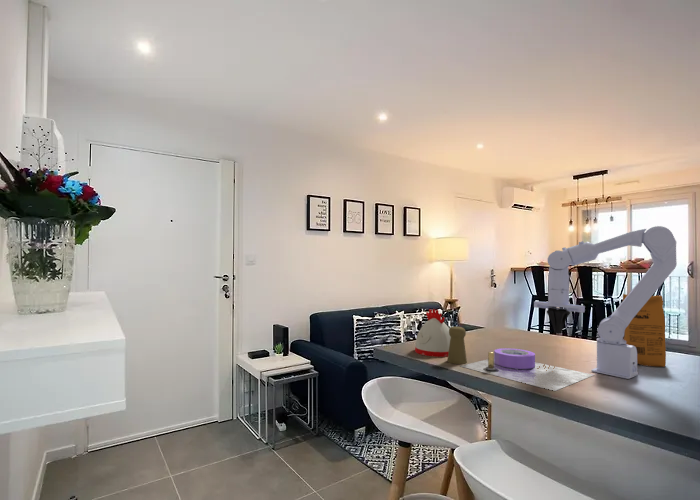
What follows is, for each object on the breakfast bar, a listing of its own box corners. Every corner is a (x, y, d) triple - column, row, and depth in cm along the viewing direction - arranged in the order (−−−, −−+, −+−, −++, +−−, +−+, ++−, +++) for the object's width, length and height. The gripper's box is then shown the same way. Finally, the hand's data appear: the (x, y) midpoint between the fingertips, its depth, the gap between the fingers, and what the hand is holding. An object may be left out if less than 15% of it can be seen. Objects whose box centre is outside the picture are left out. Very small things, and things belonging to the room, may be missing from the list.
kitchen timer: (434, 346, 147) (434, 306, 148) (464, 353, 136) (464, 310, 136) (407, 350, 139) (407, 308, 140) (435, 358, 128) (436, 312, 129)
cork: (451, 358, 129) (451, 324, 129) (469, 361, 125) (469, 326, 125) (444, 362, 124) (444, 327, 124) (463, 365, 120) (463, 329, 120)
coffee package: (615, 357, 134) (615, 292, 135) (661, 362, 128) (660, 294, 129) (619, 363, 125) (619, 294, 126) (668, 369, 120) (668, 296, 120)
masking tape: (486, 360, 126) (486, 348, 126) (517, 358, 129) (517, 347, 129) (510, 370, 115) (510, 357, 115) (543, 368, 118) (543, 355, 118)
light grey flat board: (594, 375, 111) (594, 374, 111) (554, 391, 97) (554, 390, 97) (503, 355, 134) (503, 355, 134) (459, 366, 119) (459, 365, 119)
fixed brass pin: (498, 370, 115) (498, 352, 115) (492, 371, 113) (492, 354, 113) (489, 367, 117) (489, 351, 117) (484, 369, 115) (484, 352, 115)
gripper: (529, 288, 126) (528, 330, 126) (577, 291, 115) (577, 338, 114) (540, 287, 130) (539, 328, 130) (587, 291, 119) (587, 336, 119)
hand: (558, 333), depth 122 cm, fingers closed
